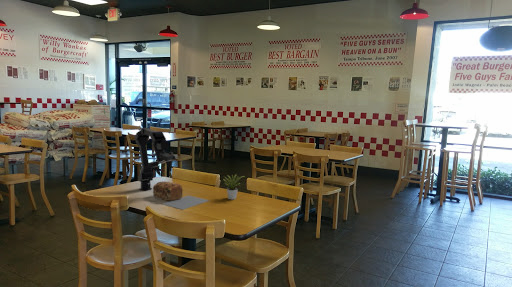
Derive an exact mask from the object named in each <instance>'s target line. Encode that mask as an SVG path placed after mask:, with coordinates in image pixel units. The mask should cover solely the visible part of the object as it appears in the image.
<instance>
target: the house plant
mask: <svg viewBox="0 0 512 287" xmlns="http://www.w3.org/2000/svg"><path fill="white" fill-rule="evenodd" d="M233 175H234V174H231V176H232V177H231V176H230V175H228V174H226V176H227V177H228V178H227V177H226V176H222V177H224V178H225V179H224V178H223V179H222V180H223V181H224V184H225V185H227V186H226V193H227V199H228V200H236V199H237V195H238V188H237V187H241V185H240V184H241V183H240V182H239V180H240V179H241V178H243V177H244V178H245V175H243V176H239V175H238V174H237V173H236V174H235V175H234V176H233ZM237 175H238V176H237ZM238 182H239V183H238Z"/></svg>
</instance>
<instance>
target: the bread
mask: <svg viewBox="0 0 512 287" xmlns="http://www.w3.org/2000/svg"><path fill="white" fill-rule="evenodd" d="M183 190H184V189H183V185H181V184H180V183H177V182H170V181H158V182H156V184H154V185H153V186H152V195H153V197H154V198H155V197H156V198H159V199H162V200H165V201H173V200H178V199H181V198H182V197H183Z"/></svg>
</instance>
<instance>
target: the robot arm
mask: <svg viewBox="0 0 512 287" xmlns="http://www.w3.org/2000/svg"><path fill="white" fill-rule="evenodd" d="M149 138H150V140H152V142H151V146H152V147H153V152H154V153H153V155H154V156H155V158H156V159H155V160H154V161H151V162H149V156H148V149H147V145H148V142H149ZM134 140H135V144H137V146H138V148H139V156H140V163H141V164H140V165H141V168H140V171H139V175H138V176H137V181H138V182H140V187H139V188H138V190H141V191H143V192H144V191H150V190H153V187H151V181H154V172H156V174H157V175H158V177H162V174H161V169H160V168H161V167H160V166H161V165H160V164H162V163H164V162H165V164H166V166H167V169H168V171H169V172H172V169H173V168H172V167H173V163H174V161H175V160H176V156H175V154H174V152H173V151H169V152H168V153H167V150H169V148H170V144H169V142H168V141H167V138H166V136H165V134H164V133H163V131H162V130H160V131H157V130H154V129H151V128H149V127H141V129H140V130H138V131H137V132H136V134H135V136H134Z"/></svg>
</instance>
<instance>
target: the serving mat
mask: <svg viewBox="0 0 512 287" xmlns="http://www.w3.org/2000/svg"><path fill="white" fill-rule="evenodd" d="M209 201H210V199H205V198H200V197H197V196H196V197H195V196H192V195H186V196H182V198H181V199H178V200H173V201H169V200H167V201H166V202H161V205H164V206H167V207H170V208H174V209H178V210H181V211H183V210H186V209H188V208H191V207H195V206H198V205H201V204H204V203H207V202H209Z"/></svg>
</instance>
